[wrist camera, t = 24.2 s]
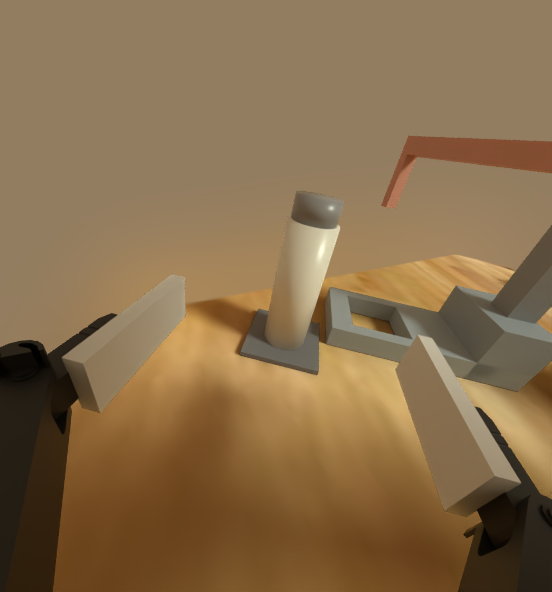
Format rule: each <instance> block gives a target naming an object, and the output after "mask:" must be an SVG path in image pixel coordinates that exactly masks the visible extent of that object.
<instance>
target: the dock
mask: <svg viewBox="0 0 552 592" xmlns="http://www.w3.org/2000/svg"><path fill="white" fill-rule="evenodd" d="M551 306H552V225H551V227H550V228H549V229H548V231H547V232H546V233H545V235H544V236H543V237H542V238H541V240H540V241H539V242H538V243H537V245H536V246H535V247H534V249H533V250H532V251H531V252H530V254H529V255H528V256H527V257H526V259H525V260H524V261H523V263H522V264H521V265H520V266H519V268H518V269H517V270H516V272H515V273H514V274H513V275H512V277H511V278H510V279H509V281H508V282H507V283H506V284H505V286H504V287H503V288H502V290H501V291H500V292H499V293H498V295H495V294H490V293H486V292H482V291H477V290H473V289H469V288H464V287H460V286H455V288H454V289H453V291H452V292H451V294H450V295H449V297H448V298H447V300H446V302H445V303H444V305H443V306H442V308H441V309H440V311H439V312H435V311H430V310H426V309H422V308H418V307H413V306H409V305H405V304H401V303H396V302H392V301H388V300H384V299H380V298H375V297H371V296H367V295H363V294H358V293H354V292H350V291H346V290H342V289H337V288H333V287H329V290H328V293H327V296H326V299H325V321H326V344H328V345H332V346H336V347H340V348H344V349H348V350H352V351H356V352H360V353H364V354H368V355H372V356H376V357H380V358H384V359H388V360H392V361H396V362H401V360H402V358H403V357H404V355H405V354H406V352H407V351H408V349H409V348H410V346H411V344H412V343H413V341H414V340H415V338H416V337H417V335H421V336H425V337H429V338H432V339H433V340H434V342H435V344H436V345H437V347H438V348H439V350H440V352H441V353H442V355H443V357H444V358H445V360H446V361H447V363H448V365H449V366H450V368H451V370H452V371H453V373H454V374H455V376H457V377H461V378H465V379H469V380H473V381H477V382H481V383H485V384H489V385H493V386H497V387H501V388H505V389H509V390H513V391H517V392H518V391H519V390H520V389H521V388H522V387H523V386H524V385H525V384H527V383H528V382H529V381H530V380H531V379H532V378H533V377H534V376H535V375H537V374H538V373H539V372H540V371H541V370H542V369H543V368H544V367H545V366H547V365H548V364H549V363H550V362H551V361H552V334H551V333H549V332H548V331H547V330H545V329H544V328H543V327H541V326H540V325H539V324H538V323H536V322H537V321H538V320H539V319H540V318H541V317H542V316H543V315H544V314H545V313H546V312H547V311H548V310H549V309H550V307H551ZM351 312H353V313H357V314H361V315H365V316H369V317H373V318H378V319H382V320H386V321H389V323H390V325H391V327H392V330H393V332H394V335H392V334H388V333H384V332H380V331H376V330H371V329H367V328H363V327H359V326H355V325H353V322H352V317H351Z"/></svg>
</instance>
